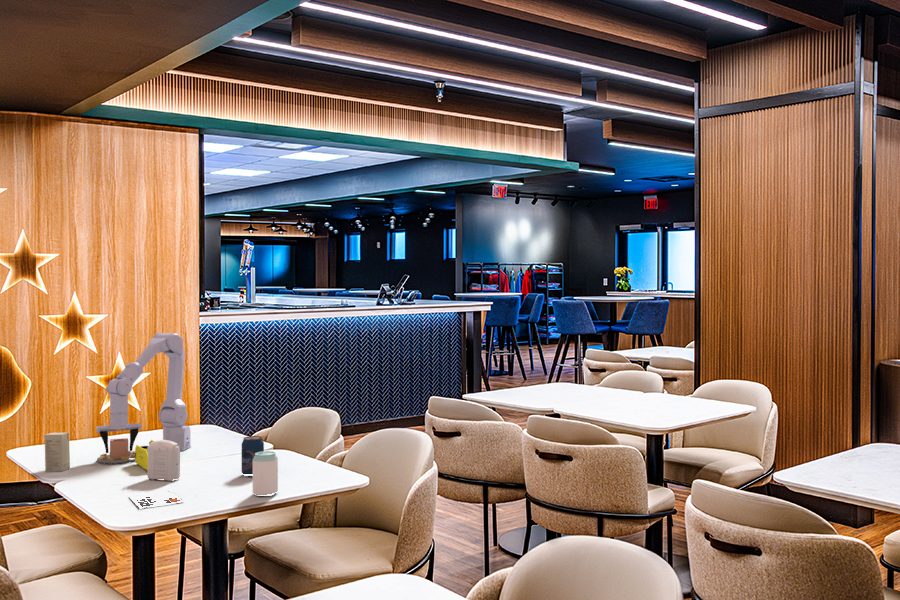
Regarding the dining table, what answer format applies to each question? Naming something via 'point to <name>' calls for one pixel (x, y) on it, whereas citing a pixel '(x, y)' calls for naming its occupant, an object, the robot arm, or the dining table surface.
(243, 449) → the soda can
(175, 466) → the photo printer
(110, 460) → the hub
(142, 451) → the yellow toy chassis
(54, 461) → the skincare box
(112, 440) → the pink square tube
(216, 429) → the dining table surface
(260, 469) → the can
